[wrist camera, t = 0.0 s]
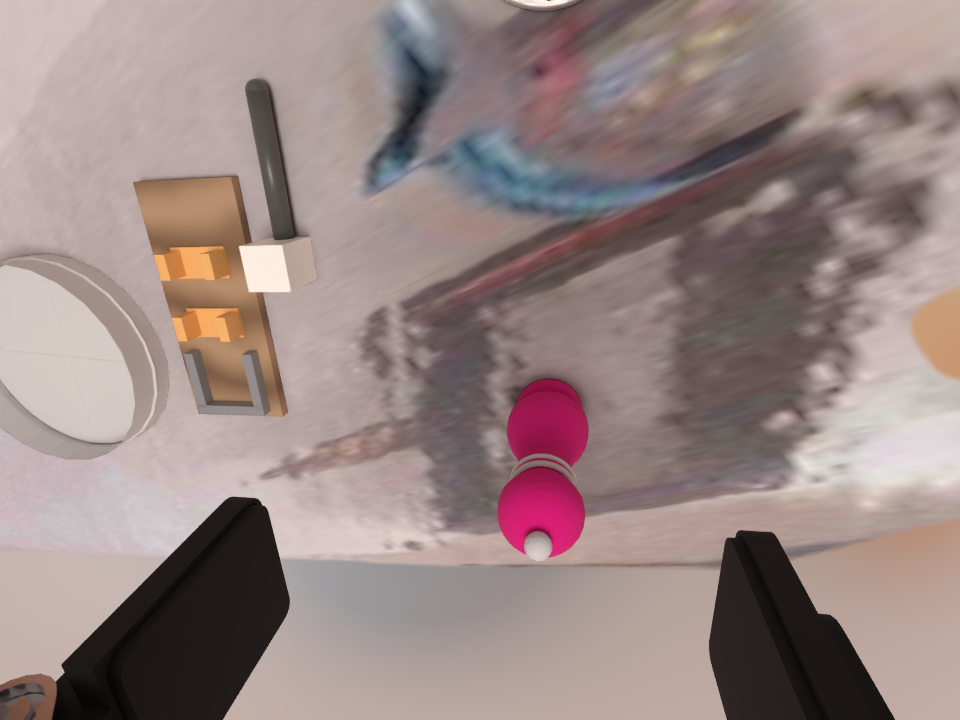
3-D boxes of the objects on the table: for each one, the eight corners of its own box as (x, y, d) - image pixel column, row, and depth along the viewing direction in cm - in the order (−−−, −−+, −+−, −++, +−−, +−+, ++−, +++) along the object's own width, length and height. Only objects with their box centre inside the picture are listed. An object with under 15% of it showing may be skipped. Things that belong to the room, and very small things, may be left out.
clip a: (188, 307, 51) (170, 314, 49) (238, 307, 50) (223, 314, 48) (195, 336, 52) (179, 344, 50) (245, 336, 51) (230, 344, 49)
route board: (141, 181, 48) (132, 181, 47) (237, 176, 46) (230, 176, 45) (204, 409, 56) (198, 413, 56) (287, 412, 55) (283, 416, 54)
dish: (148, 259, 51) (106, 270, 46) (189, 448, 59) (157, 472, 55) (-39, 246, 54) (-95, 255, 49) (25, 427, 62) (-18, 449, 58)
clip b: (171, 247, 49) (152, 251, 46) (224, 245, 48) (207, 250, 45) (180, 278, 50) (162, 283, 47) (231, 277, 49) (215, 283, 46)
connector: (240, 82, 43) (200, 73, 38) (283, 78, 42) (248, 69, 38) (278, 279, 49) (248, 292, 45) (317, 279, 48) (290, 291, 44)
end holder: (191, 349, 53) (183, 353, 51) (257, 350, 51) (250, 354, 50) (207, 408, 55) (200, 413, 54) (270, 410, 54) (264, 415, 53)
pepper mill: (601, 417, 49) (620, 574, 31) (540, 451, 51) (524, 615, 33) (558, 360, 48) (551, 488, 29) (497, 398, 50) (456, 538, 32)
